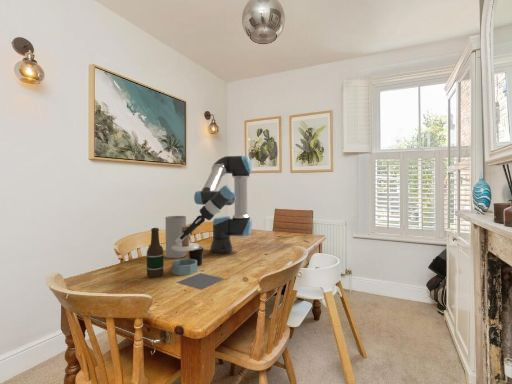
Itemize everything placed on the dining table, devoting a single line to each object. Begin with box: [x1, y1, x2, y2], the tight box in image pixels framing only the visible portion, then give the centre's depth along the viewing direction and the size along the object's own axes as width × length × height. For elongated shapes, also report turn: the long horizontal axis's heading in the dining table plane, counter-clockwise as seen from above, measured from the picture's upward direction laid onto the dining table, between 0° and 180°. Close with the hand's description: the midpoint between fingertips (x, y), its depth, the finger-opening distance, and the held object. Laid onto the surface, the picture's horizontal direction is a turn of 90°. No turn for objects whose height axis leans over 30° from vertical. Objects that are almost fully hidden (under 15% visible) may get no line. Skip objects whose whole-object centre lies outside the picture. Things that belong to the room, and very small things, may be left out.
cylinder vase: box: [165, 215, 187, 259], centre depth 173 cm, size 12×12×25 cm
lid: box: [171, 226, 200, 252], centre depth 142 cm, size 14×14×11 cm
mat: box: [175, 272, 225, 291], centre depth 129 cm, size 16×16×1 cm
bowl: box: [171, 258, 198, 276], centre depth 143 cm, size 12×12×5 cm
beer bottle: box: [146, 227, 165, 280], centre depth 135 cm, size 8×8×24 cm
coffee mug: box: [187, 245, 204, 267], centre depth 156 cm, size 12×9×10 cm
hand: (178, 241), depth 142 cm, fingers closed on lid, 3 cm apart
